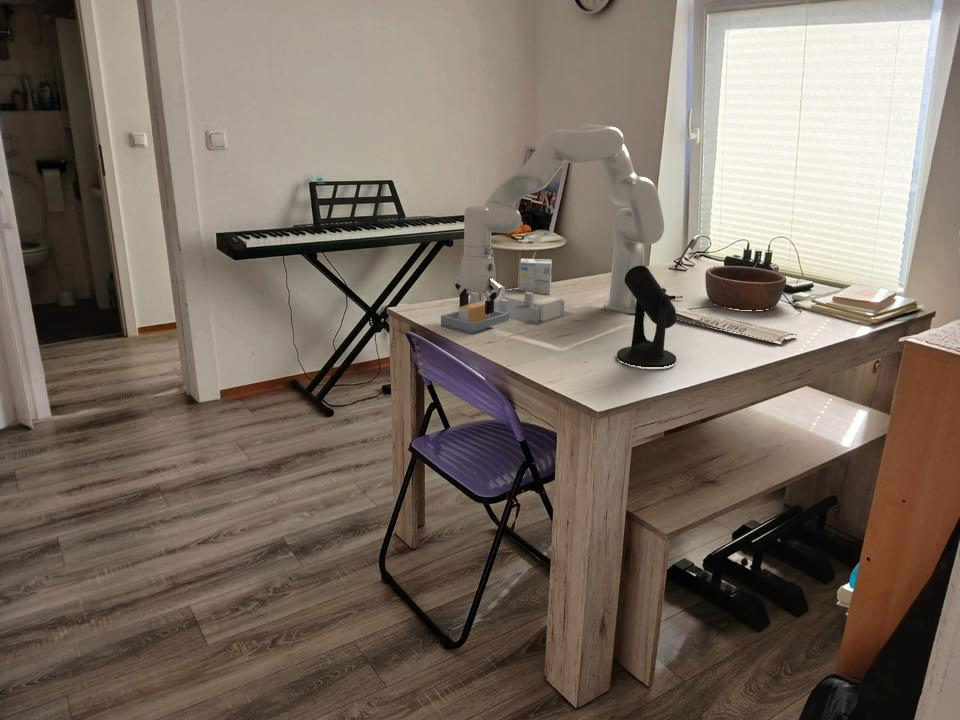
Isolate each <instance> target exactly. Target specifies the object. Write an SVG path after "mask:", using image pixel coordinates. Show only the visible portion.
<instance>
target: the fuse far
mask: <svg viewBox="0 0 960 720" xmlns="http://www.w3.org/2000/svg"><path fill="white" fill-rule="evenodd" d="M499 285H500V286H501V287H502V286H503V285H502V284H499ZM473 292H475V291H473ZM493 292H494V291H493ZM476 293H479V292H476ZM489 295H490V294H489ZM500 299H502V289H501V291H500V293H499V295H498V296H497V297H496V299H495V300H494V302H498V301H499V300H500ZM486 300H487V299H486V297H485V295H484V293H480V302H485V301H486Z"/></svg>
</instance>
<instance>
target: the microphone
mask: <svg viewBox="0 0 960 720" xmlns="http://www.w3.org/2000/svg"><path fill="white" fill-rule="evenodd" d="M624 281H625V284H626V285H627V287H628V288H629V290H630V291H631V292H632V294H633V295H634V297H635V298H636V299H637V301H636V311H635V314H634V322H633V329H632V338H631V346H627V347H623V348H620V349H619V350H617V352H616V359H617V358H618V359H619V360H620V361H622V362H624V363H627V364H630V365H635V366H641V367H664V366H669V365H672V364H674V363H675V362H676V363H677V356H676V355H675V354H674V353H672V352H671V351H669V350H665V338H666V329H670V328H672V327H673V326H674V325H675V324H676V323H677V317H676V311H675V310H676V308H675V305H674V304H673V302H672V301H671V299H672V297H671V296H670V295H669V294H667V293H666V292H667V289H665V288H664V287H662V286H661V285H660V284H659V283H658V281H657V279H656V278H655V277H654V275H653V273H652V272H651V270H650V269H649V268H648V267H647V266H646V265H643V266H641V265H640V266H636V267H633V268H632V269H630V270H629V271H628V272H627V274H626V276H625V280H624ZM645 314H646V315H647V317H648V318H649V320H650V321H651V322H653V323H654V324H655V325H656V326H655V333H654V336H653V341H651V340H649V339H647V338H646V336H645V322H644V321H645Z"/></svg>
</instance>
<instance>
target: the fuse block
mask: <svg viewBox="0 0 960 720" xmlns="http://www.w3.org/2000/svg"><path fill="white" fill-rule="evenodd" d="M534 298H535V293H531V292H526V291H525V292H524V301H523V300H520V299H515V298H511V297H506V286H503V285H502V299H500V300H499V301H498V302H494V310H497V311H501V312H505V313H509V319H511V320H514V321H515V320H516V321H519V322H523V323H526V324H531V325H534V326H540V325H543V324H547V323H550V322H553V321H555V320H559V319H561V318H565V317H568V316H571V315H574V312H569V311H565V300H564V299H562V306H561V314H560V315H559V316H556V317H553V318H550V319H547V320H544V321H542V320H539V312H540V308H538V307H534V306H533V303H534V302H535V299H534ZM469 301H470V302H468V305H469V304H473V303H476V302H480V293H476V292H474V291H471V292H470V300H469Z"/></svg>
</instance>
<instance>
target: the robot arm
mask: <svg viewBox="0 0 960 720" xmlns="http://www.w3.org/2000/svg"><path fill="white" fill-rule="evenodd" d="M624 139H625V138H624V134H623V133H622V131H620V129H618V128H617V127H614V126H610V125H601V124H592V123H590V124H588V123H587V124H584V125H582V126H580V127H579V128H578V129H577V130H571V129H570V130H569V129H563V128H562V129H555V130H552V131H551V132H549V133H548V135H546V137H545V138H544V139H543V141H542V142H541V143H540V144H539V145H538V147H537V149H536V150H534V153H533V154H532V155H531V156H530V158H529V159H528V160H527V161H526V163H525V164H524V165H523V166H522V167H521V168H520V169H519V170H518V171H515V173H514V174H512V175H511V176H510V177H509V178H507V179H506V180H505V181H503V182H502V183H501V184H499V185H498V187H497V188H496V189H495V190H494V191H493V193H491V195H490V196H489V198H488V199H487V200H486V202H485V203H484V204H483V205H471V206H470V205H469V206H468V207H466V208H465V209H464V213H463V214H464V217H463V218H464V220H463V221H464V226H463V228H464V230H463V232H464V233H463V234H464V235H463V236H464V237H463V238H464V239H463V255H462V257H461V263H460V270H459V271H460V273H459V274H457V275H455V276H453V282H454V284H455V285H454V287H455V288H456V290H457V293H458V295H459V308H461V306H465V305H468V303H469V292H468V291H471V292H474V291H475V292H479V293H484V295H485V297H486V299H487V300H486V301H485V314H487V315H488V314H491V313H493V312H494V300H495V299H496V297H497V296H498V295H499V293H500V291H501V289H502V287H501V286H500V285H501V284H499V283H498V282H497V280H496V277H497V276H496V264H495V261H494V257H493V256H492V255H493V253H494V250H493V249H492V233H497V234H498V233H499V234H511V233H514V232H515V231H517V230H518V229H519V228H520V226H521V224H522V215H521V213H520V211H519V210H518V209H517V208H515V207H514V206H515V204H516V203H518V202H519V201H520V200H521V199H523V198H525V197H527V196H529V195H531V194H534V193H537V192H540V191H541V190H543V189H545V188H546V187H547V186H548V185H549V184H550V182H551V181H552V180H553V178H554V177H555V176H556V175H557V173H558V172H559V171H560V169H562V168H563V165H564V164H565V163H571V164H581V163H589V162H595V161H598V162H599V165H600V166H601V168H602V172H603V176H604V179H605V183H606V188H607V190H608V191H607V192H608V195H609V199H610V200H611V202H612V203H613V204H614V205H617V206H618V207H622V208H621V209H619V210H618V211H617V212H616V213H615V214H614V217H613V219H612V226H611V227H612V239H613V251H612V261H611V262H612V263H611V264H612V265H611V272H610V273H611V275H610V287H609V298H608V301H606V302H604V303H603V309H605V310H606V311H610V312H614V313H618V314H625V315H632V314H634V315H635V311H636V301H637V299H636V298H635V297H634V295H633V294H632V292H631V291H630V290H629V288H628V287H627V285H626V284H625V281H624V280H625V276H626V274H627V272H628V271H629V270H630V269H632V268H633V267H636V266H640V265H641V266H644V262H645V246H644V245H654V244H657V242H659V241H660V240H661V239H662V237H663V234H664V233H665V232H664V231H665V219H664V215H663V209H662V206H661V201H660V196H659V193H658V190H657V186H656V185H655V184H654V182H653V181H652V180H650V179H649V178H647V177H645V176H639V175H637V174H636V173H635V170H634V167H633V164H632V163H633V162H632V160H631V156H630V154H629V151H628V149H627V147H626V146H625V140H624ZM493 291H494V292H493ZM489 294H490V295H489Z"/></svg>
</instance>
